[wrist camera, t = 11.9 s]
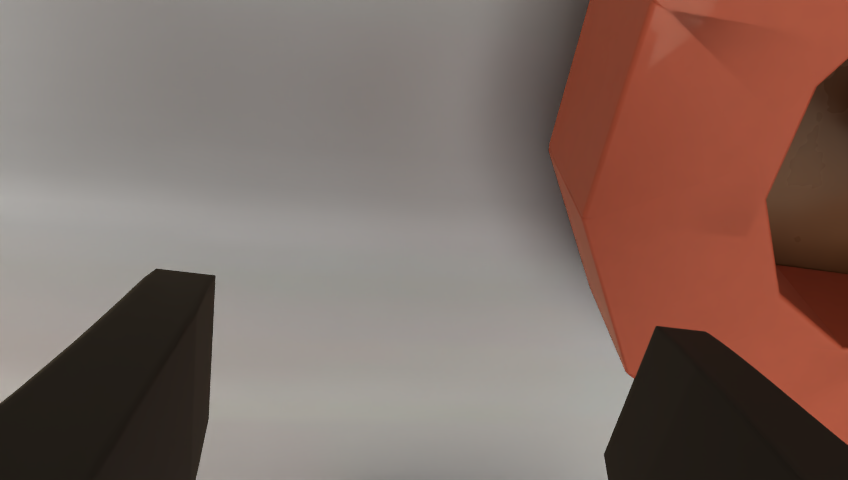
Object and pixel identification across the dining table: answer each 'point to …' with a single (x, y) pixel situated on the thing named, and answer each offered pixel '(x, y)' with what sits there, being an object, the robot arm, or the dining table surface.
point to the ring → (702, 181)
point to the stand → (815, 185)
